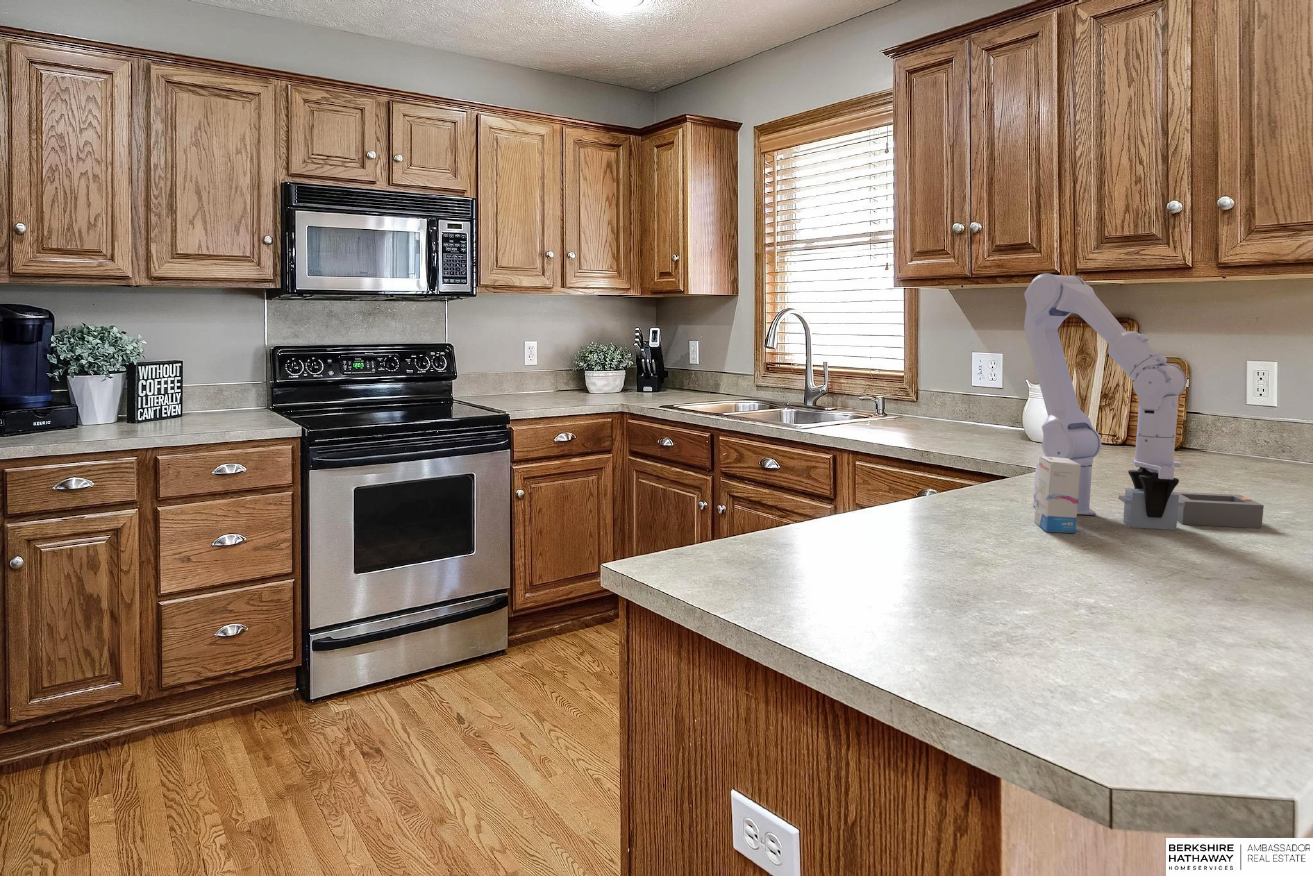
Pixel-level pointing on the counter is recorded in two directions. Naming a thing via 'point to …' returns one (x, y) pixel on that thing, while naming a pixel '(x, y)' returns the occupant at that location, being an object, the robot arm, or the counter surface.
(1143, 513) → the servo
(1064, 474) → the ink box
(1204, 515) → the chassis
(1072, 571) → the counter surface
